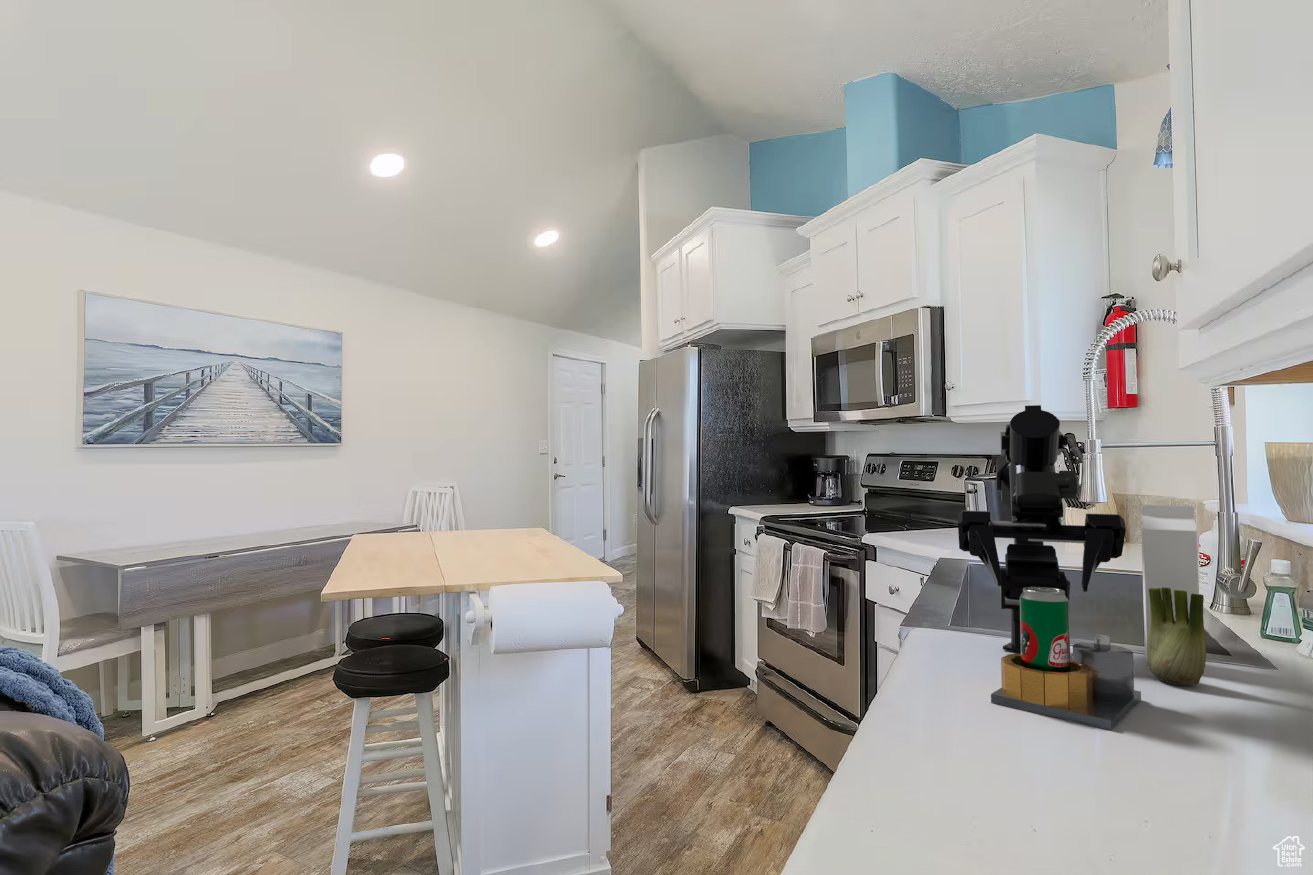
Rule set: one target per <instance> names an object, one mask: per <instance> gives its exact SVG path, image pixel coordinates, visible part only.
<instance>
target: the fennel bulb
mask: <svg viewBox="0 0 1313 875" xmlns="http://www.w3.org/2000/svg"><path fill="white" fill-rule="evenodd" d="M1161 592H1162V595H1161ZM1149 597H1150V607H1151V624H1150V631H1149V636H1148V645H1147V662H1146V664H1147V663H1148V669H1149V671H1150V672H1151V674H1152V675H1153V676H1155V678H1157V679H1158V680H1160V681H1163V682H1166V683H1170V684H1173V685H1176V686H1197V685H1199V684H1200V681H1201V679H1202V677H1203V675H1204V673H1205V669H1206V668H1205V667H1206V661H1207V660H1206V658H1207V642H1206V634H1205V633H1206V632H1205V626H1204V625H1205V624H1204V600H1205V599H1204V594H1200V593H1199V594H1194V593H1192V594H1191V601H1190V611H1189V615H1188V600H1187V591H1181V590H1174V601H1175V604H1174V605H1175V617H1176V621H1175V620H1174V614H1173V604H1172V595H1171V589H1170V588H1163V587H1162V588H1161V589H1160V588H1150V589H1149Z"/></svg>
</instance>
